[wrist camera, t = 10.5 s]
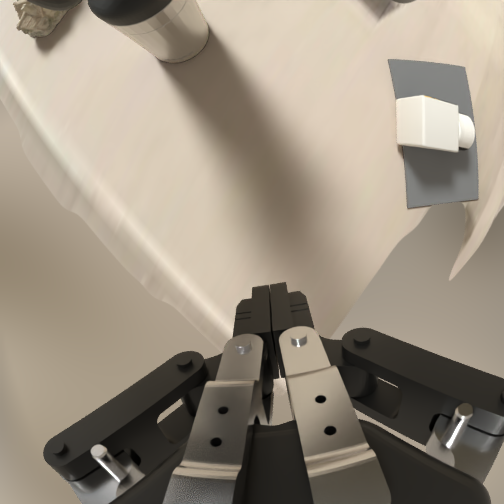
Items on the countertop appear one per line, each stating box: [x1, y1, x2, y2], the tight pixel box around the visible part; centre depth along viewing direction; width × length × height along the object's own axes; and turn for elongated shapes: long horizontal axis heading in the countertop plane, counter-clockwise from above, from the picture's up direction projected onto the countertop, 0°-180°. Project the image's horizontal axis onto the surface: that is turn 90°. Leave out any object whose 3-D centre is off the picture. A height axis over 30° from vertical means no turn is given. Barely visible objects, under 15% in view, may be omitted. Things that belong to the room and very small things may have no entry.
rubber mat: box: [388, 59, 478, 208], centre depth 38 cm, size 24×16×1 cm, turn 10°
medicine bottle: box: [396, 95, 475, 152], centre depth 35 cm, size 7×7×12 cm
